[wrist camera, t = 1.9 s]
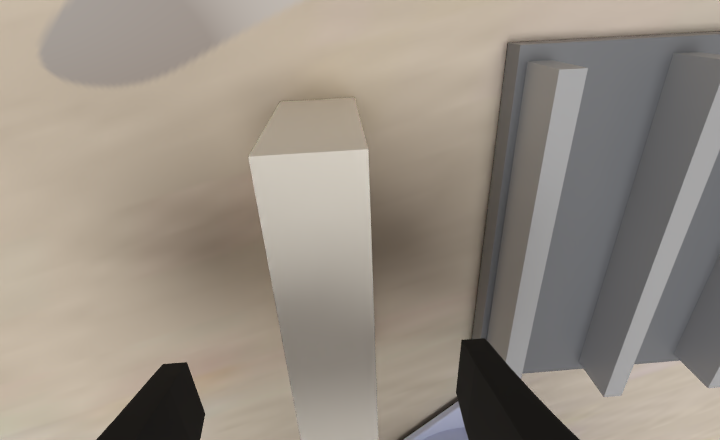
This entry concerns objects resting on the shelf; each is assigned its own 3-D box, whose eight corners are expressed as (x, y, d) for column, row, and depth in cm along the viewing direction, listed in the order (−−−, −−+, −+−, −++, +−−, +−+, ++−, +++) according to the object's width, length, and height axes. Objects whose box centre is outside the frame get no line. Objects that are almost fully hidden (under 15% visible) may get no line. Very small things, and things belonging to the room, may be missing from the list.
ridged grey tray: (676, 344, 21) (727, 393, 18) (469, 361, 20) (489, 414, 18) (822, 25, 14) (941, 29, 11) (508, 42, 13) (552, 50, 11)
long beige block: (366, 345, 20) (379, 469, 14) (314, 349, 19) (307, 476, 14) (354, 96, 14) (368, 148, 9) (280, 100, 14) (248, 156, 8)
